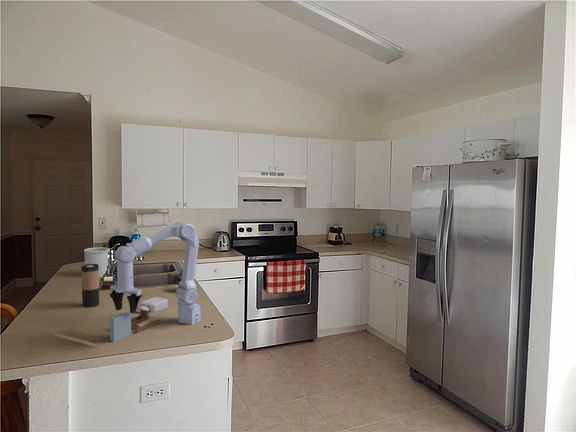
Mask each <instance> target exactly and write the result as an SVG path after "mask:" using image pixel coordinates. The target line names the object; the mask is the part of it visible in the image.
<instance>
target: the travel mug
mask: <svg viewBox="0 0 576 432" xmlns="http://www.w3.org/2000/svg"><path fill="white" fill-rule="evenodd" d="M80 269H81V299H82V301H81V302H82V307H83V308H93V307H98V306H99V305H100V277H99V265H98V264H86V265H85V264H84V265H81V268H80Z"/></svg>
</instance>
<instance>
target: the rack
mask: <svg viewBox="0 0 576 432" xmlns="http://www.w3.org/2000/svg"><path fill="white" fill-rule="evenodd" d="M148 319H150V312H149V311H147V310H142V309H141V310H140V313H139V315H137V316H135V317H131V334H133V335H135V334H138V333H141V332H143V331H145V330H146V329H149V328H152V327H155V326H157V325H158V324H161V322H160V319H156V320H153V322H151V323H149V324H146V325H144V326H142V327H139V328H137V329H136V330H134V327H135V325H136V324H138V323H140V322H143V321H145V320H148Z"/></svg>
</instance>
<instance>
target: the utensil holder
mask: <svg viewBox="0 0 576 432" xmlns="http://www.w3.org/2000/svg"><path fill="white" fill-rule="evenodd" d="M108 252H109V253H110V248H109V247H106V246H104V247H99V246H98V247H90V248H89V247H88V248H85V249H84V250H83V253H84V254H83V255H84V265H86V264H98V265H99V278H104V277H103V275H104V274H105V273H106V271H107V266H108Z"/></svg>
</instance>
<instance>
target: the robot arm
mask: <svg viewBox="0 0 576 432" xmlns="http://www.w3.org/2000/svg"><path fill="white" fill-rule="evenodd" d="M169 237H171V238H172V237H173V238H174V237H175V238H179V239H181V240H182V241H183V243H184V244H185V250H184V259H183V265H182V270H183V273H182V280H181V281H180V282H179V285H177V288H176V290H175V296H176V298H177V322H178V323H180V324H187V325H191V326H192V325H195V324H196V323H198V322H199V323H200V321H202V315H201V314H202V309H201V308H202V307H201V305H200V304H198V303H196V301H197V300H198V293H197V285H196V283H195V281H194V279H196V278H195V277H196V271H197V262H198V261H197V260H198V255H199V254H198V253H199V246H200V240H199V237H198V234H197V229H196V227H194V225H192V224H191V223H187V222H186V223H185V222H181V221H177V222H175V223H172V224H170V225H168V226H166V227H165V228H163V229H161V230H159V231H157V232H156V233H153V234H152V235H150V236H148V237H146V236H139V237H137V239H135V240H134V241H132V242H130V243H129V242H127V243H125V245H122V246H119V247H118V248H117V249H116V250H115V253H114V257H115V259H116V272H117V273H116V276H117V280H116V281H117V285H115V284H114V285H110V289H109V290H110V292H111V293H109V297H110V298H111V299H112V301H113V304H114V307H115V310H116V311H120V310H122V309H123V299H124V295H125V294H129V295H127V296H126V299H127V301H128V306H129V312H130V313H131V314H135V313H136V312H137V311H136V309H137V308H138V305H139V303H140V299H141V298H142V297H143V294H142V289H139V288H137V287H135V286H134V264H133V263H134V260H135V258H136V257H137V256H139V255H142V254H144V253H146V252H148V251H149V250H151V249H152V246H153V245H155V244H157V243H159V242H162V241H163V240H166V239H168V238H169Z"/></svg>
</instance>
